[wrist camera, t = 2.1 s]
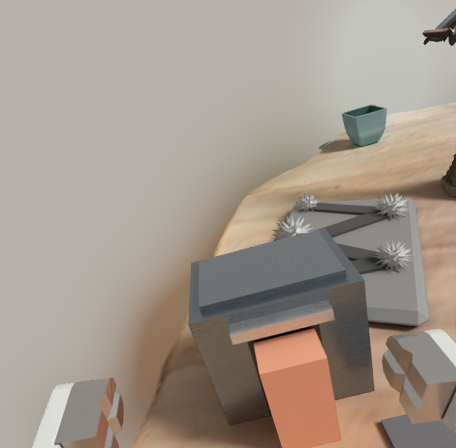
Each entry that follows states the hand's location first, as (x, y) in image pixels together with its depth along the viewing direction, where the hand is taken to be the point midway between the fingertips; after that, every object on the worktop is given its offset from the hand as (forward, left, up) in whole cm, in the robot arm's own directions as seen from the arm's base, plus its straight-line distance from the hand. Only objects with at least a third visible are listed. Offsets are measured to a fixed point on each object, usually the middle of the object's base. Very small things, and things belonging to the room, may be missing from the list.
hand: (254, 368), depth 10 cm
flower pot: (+93, +3, -22) cm, 96 cm away
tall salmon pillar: (+11, +4, -22) cm, 25 cm away
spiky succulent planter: (+39, +4, -23) cm, 45 cm away
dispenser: (+17, +7, -22) cm, 28 cm away
